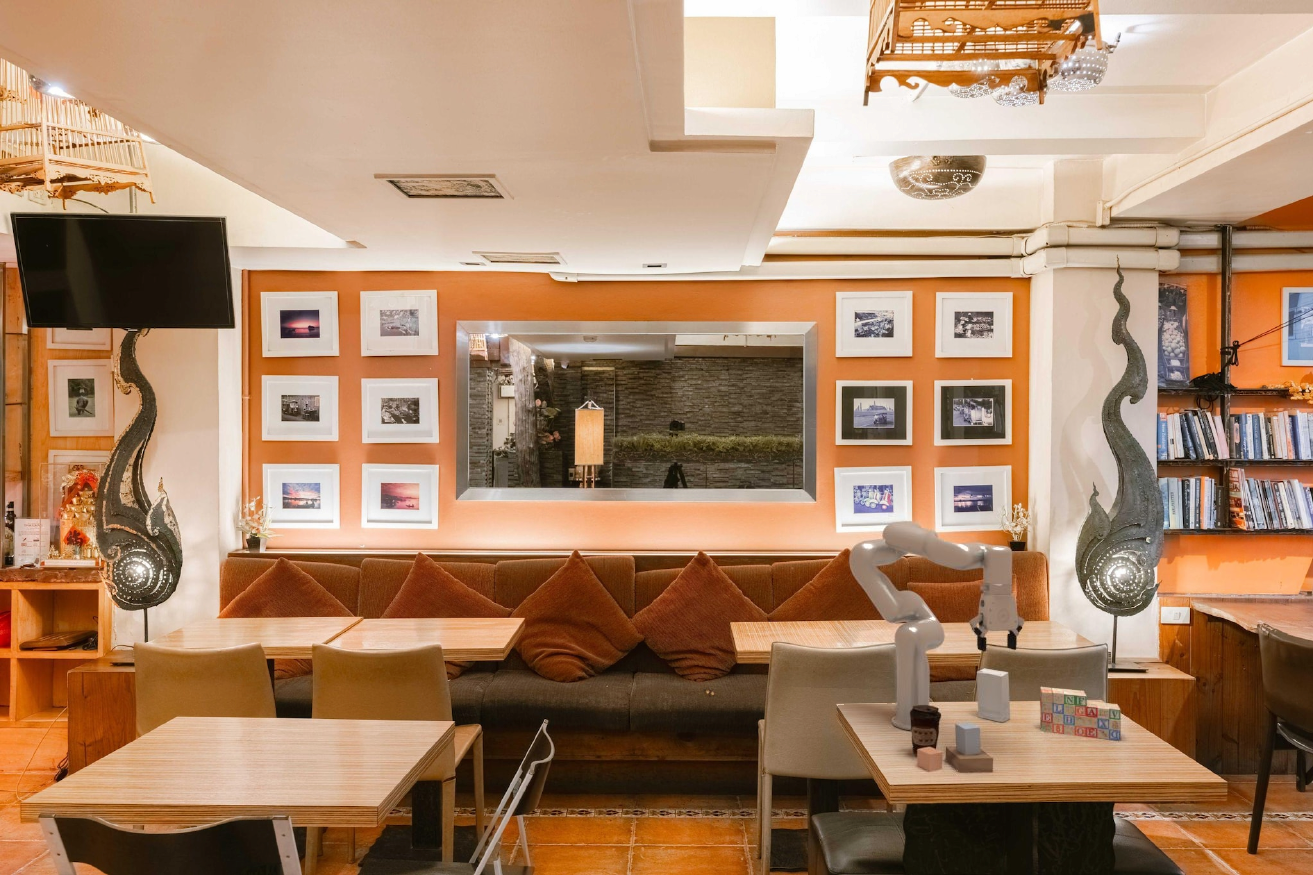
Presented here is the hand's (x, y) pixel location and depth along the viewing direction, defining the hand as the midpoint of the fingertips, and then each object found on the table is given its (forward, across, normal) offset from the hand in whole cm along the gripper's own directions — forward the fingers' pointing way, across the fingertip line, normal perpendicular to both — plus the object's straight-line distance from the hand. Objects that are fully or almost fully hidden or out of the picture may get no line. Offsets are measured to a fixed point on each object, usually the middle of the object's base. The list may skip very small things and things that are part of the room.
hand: (996, 649), depth 240 cm
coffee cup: (+28, -22, 0) cm, 36 cm away
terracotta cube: (+28, -26, -8) cm, 39 cm away
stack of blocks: (+29, +34, +8) cm, 45 cm away
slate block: (+25, -15, -9) cm, 30 cm away
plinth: (+29, -15, -9) cm, 34 cm away
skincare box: (+28, +17, +25) cm, 42 cm away
